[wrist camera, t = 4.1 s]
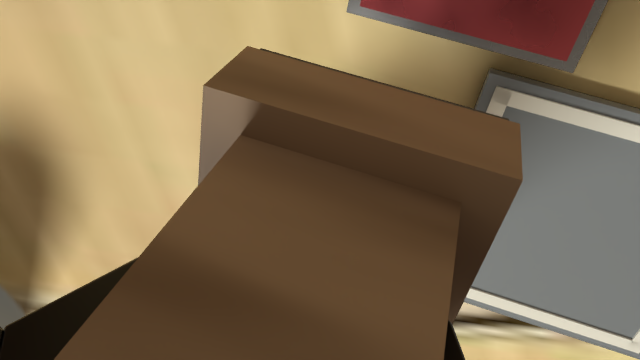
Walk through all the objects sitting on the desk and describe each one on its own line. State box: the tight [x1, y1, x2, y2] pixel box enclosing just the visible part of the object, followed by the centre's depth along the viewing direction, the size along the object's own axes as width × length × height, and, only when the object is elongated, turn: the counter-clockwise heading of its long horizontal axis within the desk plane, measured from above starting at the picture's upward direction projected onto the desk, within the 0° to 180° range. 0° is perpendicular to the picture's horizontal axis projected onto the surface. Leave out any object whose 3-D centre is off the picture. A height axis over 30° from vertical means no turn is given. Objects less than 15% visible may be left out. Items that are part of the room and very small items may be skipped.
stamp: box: [54, 46, 523, 360], centre depth 9 cm, size 6×6×9 cm
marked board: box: [464, 68, 640, 359], centre depth 23 cm, size 11×11×1 cm
